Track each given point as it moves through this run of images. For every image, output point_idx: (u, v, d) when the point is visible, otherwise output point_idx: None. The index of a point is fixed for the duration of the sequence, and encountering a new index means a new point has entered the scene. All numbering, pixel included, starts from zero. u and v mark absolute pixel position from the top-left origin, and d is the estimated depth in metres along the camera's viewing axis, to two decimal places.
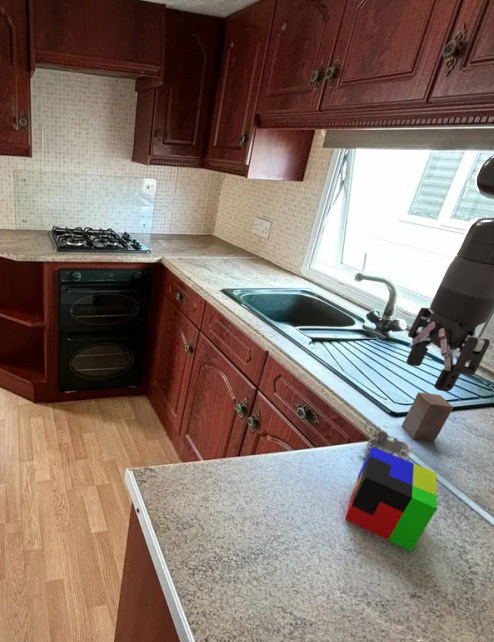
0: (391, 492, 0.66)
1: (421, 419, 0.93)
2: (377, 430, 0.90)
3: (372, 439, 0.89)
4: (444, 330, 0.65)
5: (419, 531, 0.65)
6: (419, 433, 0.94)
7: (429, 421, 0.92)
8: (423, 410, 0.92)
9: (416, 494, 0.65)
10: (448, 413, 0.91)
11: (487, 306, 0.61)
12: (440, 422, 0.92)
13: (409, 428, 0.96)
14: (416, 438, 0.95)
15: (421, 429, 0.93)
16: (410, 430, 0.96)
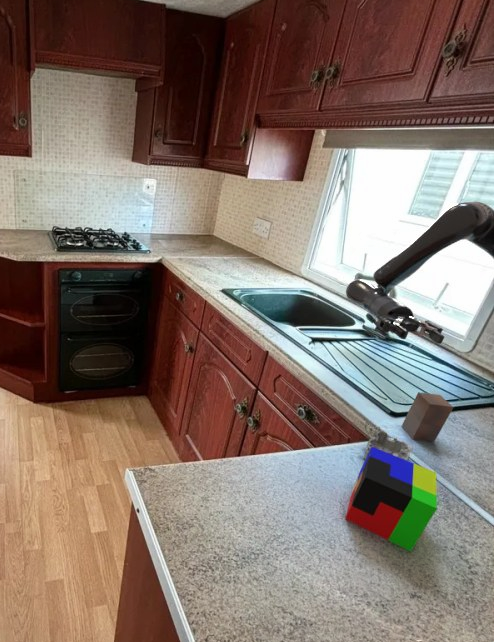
0: (391, 492, 0.66)
1: (421, 419, 0.93)
2: (377, 430, 0.90)
3: (372, 439, 0.89)
4: None
5: (419, 531, 0.65)
6: (419, 433, 0.94)
7: (429, 421, 0.92)
8: (423, 410, 0.92)
9: (416, 494, 0.65)
10: (448, 413, 0.91)
11: (380, 311, 1.12)
12: (440, 422, 0.92)
13: (409, 428, 0.96)
14: (416, 438, 0.95)
15: (421, 429, 0.93)
16: (410, 430, 0.96)
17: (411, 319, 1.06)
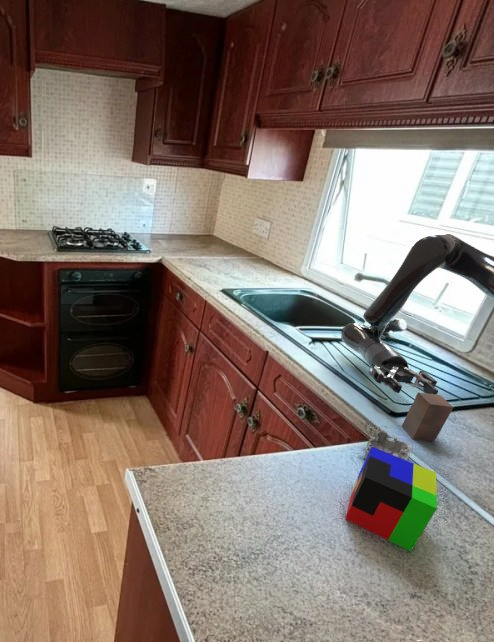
0: (391, 492, 0.66)
1: (421, 419, 0.93)
2: (377, 430, 0.90)
3: (372, 439, 0.89)
4: None
5: (419, 531, 0.65)
6: (419, 433, 0.94)
7: (429, 421, 0.92)
8: (423, 410, 0.92)
9: (416, 494, 0.65)
10: (448, 413, 0.91)
11: (375, 359, 1.12)
12: (440, 422, 0.92)
13: (409, 428, 0.96)
14: (416, 438, 0.95)
15: (421, 429, 0.93)
16: (410, 430, 0.96)
17: (405, 370, 1.06)
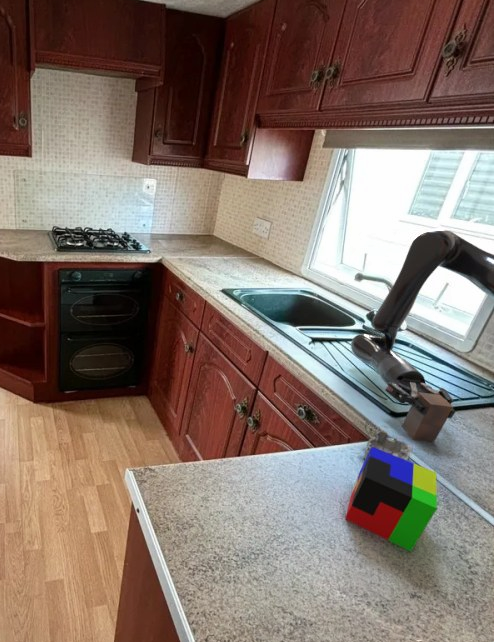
0: (391, 492, 0.66)
1: (421, 419, 0.93)
2: (377, 430, 0.90)
3: (372, 439, 0.89)
4: None
5: (419, 531, 0.65)
6: (419, 433, 0.94)
7: (429, 421, 0.92)
8: None
9: (416, 494, 0.65)
10: (448, 413, 0.91)
11: (389, 373, 1.05)
12: (440, 422, 0.92)
13: (409, 428, 0.96)
14: (416, 438, 0.95)
15: (421, 429, 0.93)
16: (410, 430, 0.96)
17: (423, 386, 0.99)
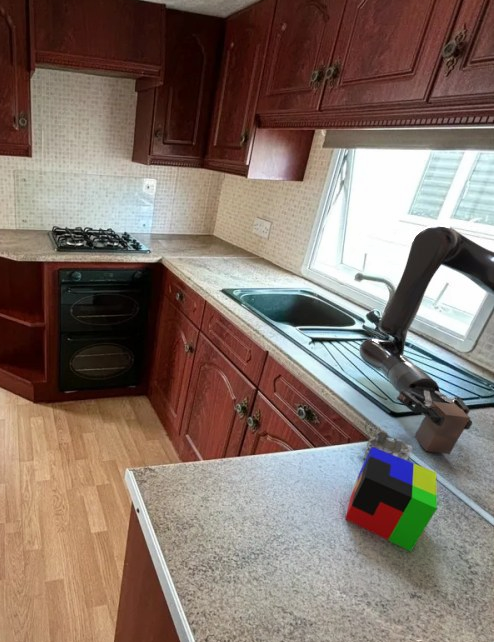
0: (391, 492, 0.66)
1: (436, 430, 0.88)
2: (377, 430, 0.90)
3: (372, 439, 0.89)
4: None
5: (419, 531, 0.65)
6: (433, 445, 0.89)
7: (444, 432, 0.87)
8: None
9: (416, 494, 0.65)
10: (465, 424, 0.86)
11: (401, 381, 1.00)
12: (456, 433, 0.87)
13: (423, 439, 0.91)
14: (430, 450, 0.90)
15: (436, 440, 0.89)
16: (424, 442, 0.91)
17: (437, 395, 0.94)
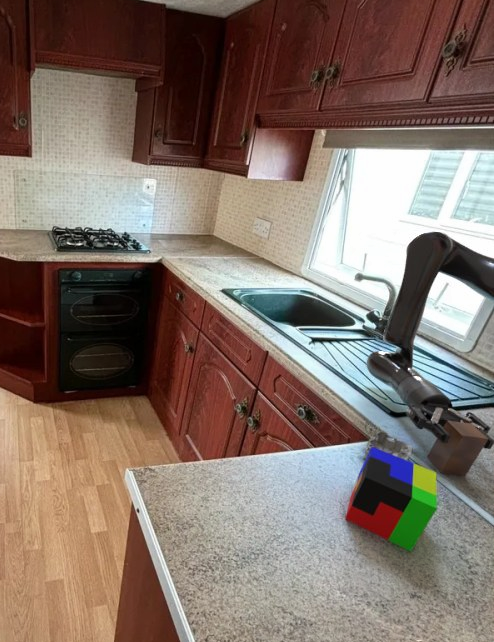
0: (391, 492, 0.66)
1: (451, 451, 0.83)
2: (377, 430, 0.90)
3: (372, 439, 0.89)
4: None
5: (419, 531, 0.65)
6: (448, 467, 0.84)
7: (460, 454, 0.83)
8: (453, 441, 0.83)
9: (416, 494, 0.65)
10: (482, 445, 0.81)
11: (412, 396, 0.95)
12: (473, 455, 0.82)
13: (436, 460, 0.86)
14: (445, 472, 0.85)
15: (451, 462, 0.84)
16: (438, 463, 0.86)
17: (451, 412, 0.89)
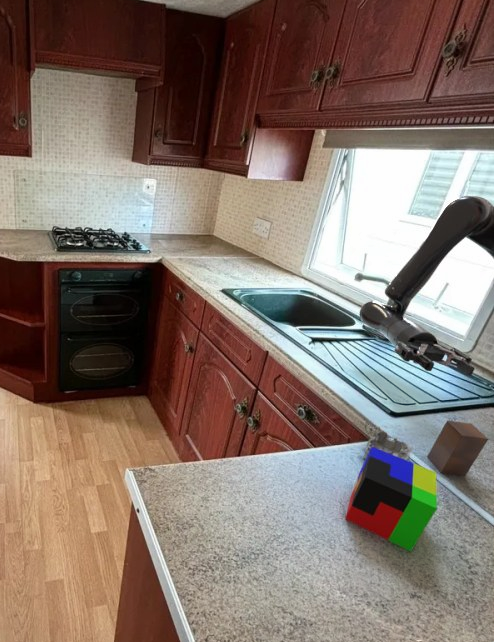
0: (391, 492, 0.66)
1: (451, 451, 0.83)
2: (377, 430, 0.90)
3: (372, 439, 0.89)
4: None
5: (419, 531, 0.65)
6: (448, 467, 0.84)
7: (460, 454, 0.83)
8: (453, 441, 0.83)
9: (416, 494, 0.65)
10: (482, 445, 0.81)
11: (400, 337, 1.02)
12: (472, 455, 0.82)
13: (436, 460, 0.86)
14: (445, 472, 0.85)
15: (451, 462, 0.84)
16: (438, 463, 0.86)
17: (435, 347, 0.96)
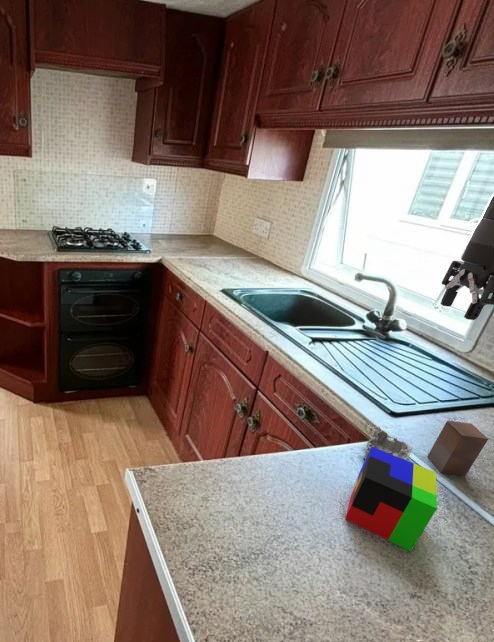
0: (391, 492, 0.66)
1: (451, 451, 0.83)
2: (377, 430, 0.90)
3: (372, 439, 0.89)
4: (472, 274, 0.88)
5: (419, 531, 0.65)
6: (448, 467, 0.84)
7: (460, 454, 0.83)
8: (453, 441, 0.83)
9: (416, 494, 0.65)
10: (482, 445, 0.81)
11: None
12: (473, 455, 0.82)
13: (436, 460, 0.86)
14: (445, 472, 0.85)
15: (451, 462, 0.84)
16: (438, 463, 0.86)
17: None
